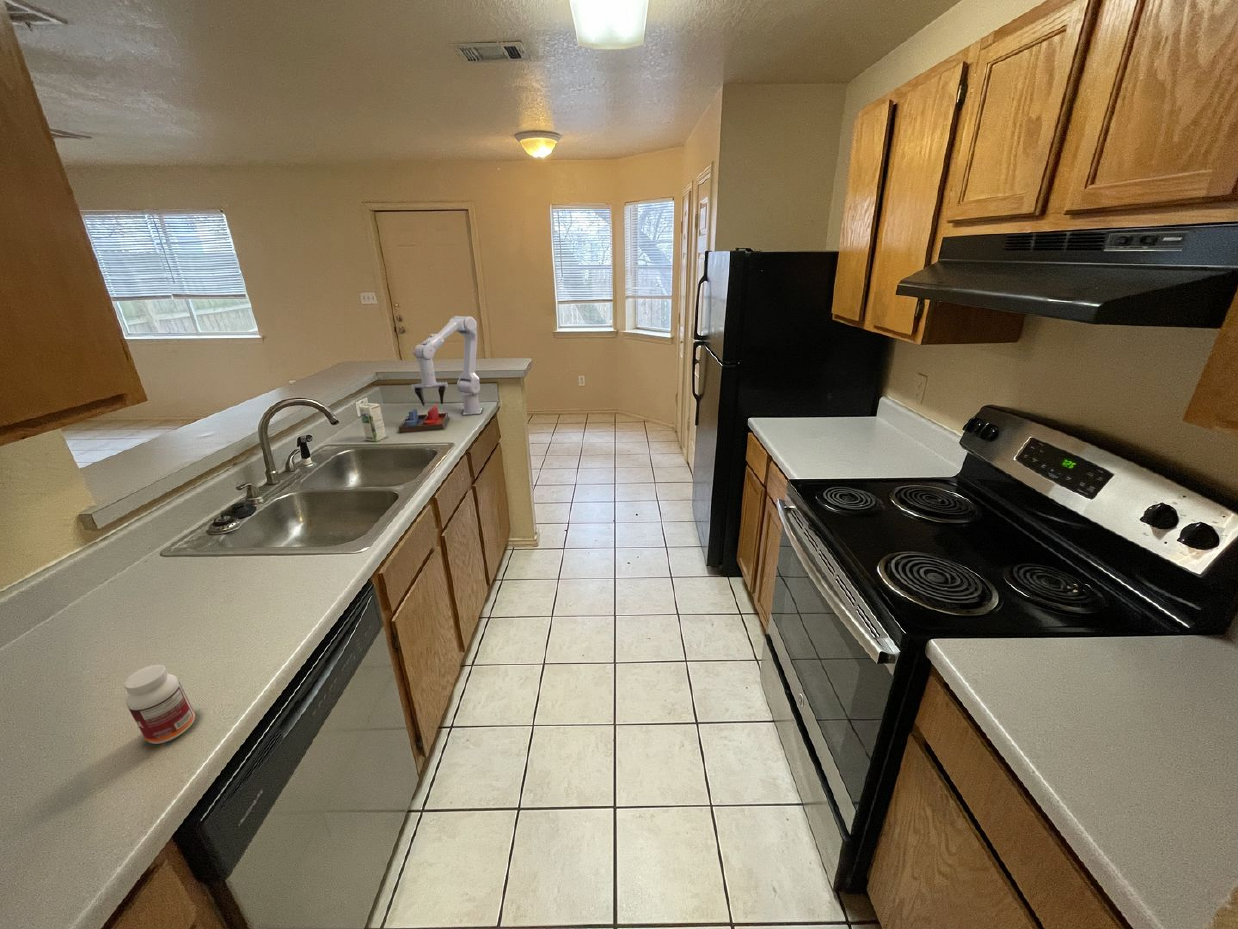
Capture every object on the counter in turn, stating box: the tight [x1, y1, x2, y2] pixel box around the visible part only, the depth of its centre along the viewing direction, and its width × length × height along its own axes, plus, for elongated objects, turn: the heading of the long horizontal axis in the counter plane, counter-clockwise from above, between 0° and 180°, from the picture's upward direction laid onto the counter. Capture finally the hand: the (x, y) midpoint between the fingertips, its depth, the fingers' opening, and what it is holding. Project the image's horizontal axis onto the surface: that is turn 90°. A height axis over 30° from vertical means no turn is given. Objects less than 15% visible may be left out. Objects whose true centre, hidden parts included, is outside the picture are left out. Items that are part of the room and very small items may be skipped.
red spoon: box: [424, 405, 439, 425], centre depth 225 cm, size 13×4×6 cm, turn 1°
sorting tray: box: [398, 412, 449, 434], centre depth 224 cm, size 17×18×2 cm
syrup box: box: [358, 402, 387, 442], centre depth 206 cm, size 6×6×14 cm
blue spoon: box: [406, 408, 419, 426], centre depth 221 cm, size 13×4×6 cm, turn 10°
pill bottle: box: [123, 664, 196, 745], centre depth 78 cm, size 6×6×11 cm
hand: (433, 404), depth 220 cm, fingers open, 7 cm apart
